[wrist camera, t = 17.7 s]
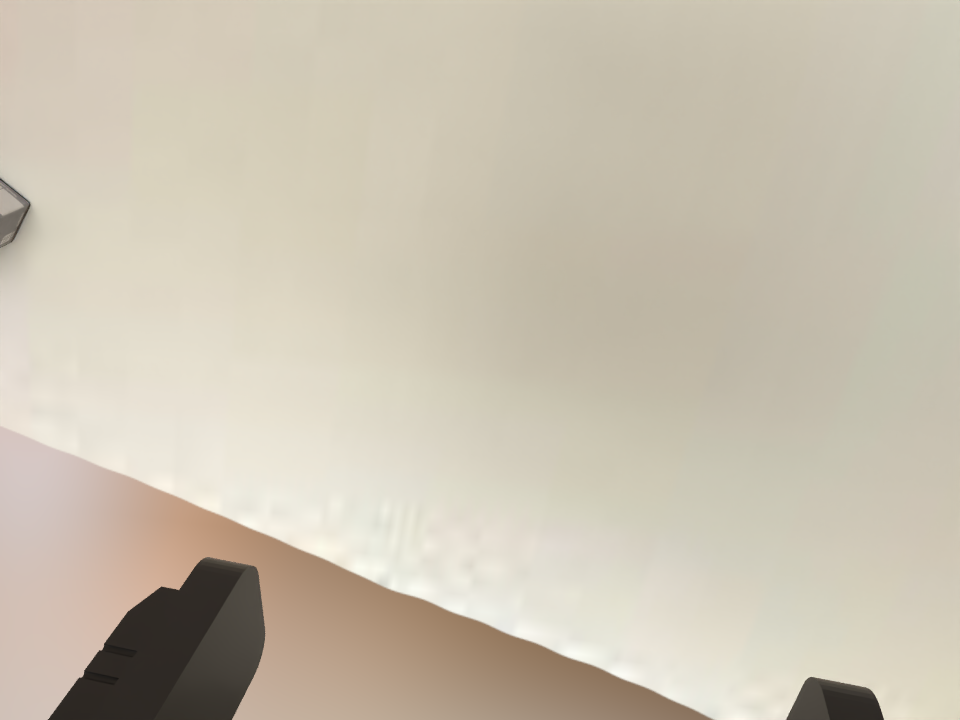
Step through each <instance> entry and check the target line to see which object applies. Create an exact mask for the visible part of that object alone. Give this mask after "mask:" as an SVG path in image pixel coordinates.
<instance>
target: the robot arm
mask: <svg viewBox="0 0 960 720" xmlns="http://www.w3.org/2000/svg"><path fill="white" fill-rule="evenodd" d="M264 641H265V626H264V617H263V609H262V601H261V592H260V584H259V575H258V571H257V569H256V567H254V566H251V565H246V564H241V563H236V562H230V561H225V560H220V559H215V558H210V557H207V558H204V559H203V560H201V561H200V562H199V563H198V564H197V565H196V566H195V568H194V569H193V571H192V572H191V574H190V575H189V577H188V578H187V580H186V581H185V582H184V584H183V585H182V587H181V588H180V590H176V589H171V588H166V587H160V588H159V589H158V590H156V591H155V592H154V593H152V594H151V595H150V596H148V597H147V598H146V599H144V600H143V601H142V602H140V603H139V604H138V605H136V606H135V607H134V608H132V609H131V610H130V611H128V612H127V614H126V615H125V616H124V618H123V619H122V620H121V622H120V623H119V625H118V626H117V627H116V629H115V630H114V631H113V633H112V634H111V635H110V637H109V638H108V639H107V641H106V642H105V643H104V648H103V650H102V651H100V650H99V652H98V653H97V654H96V656H95V657H94V658H93V660H92V661H91V663H90V664H89V665H88V666H87V668H86V669H85V670H84V675H83V677H82V678H79V679H78V680H77V681H76V683H75V684H74V686H73V687H72V688H71V689H70V691H69V692H68V693H67V695H66V696H65V697H64V699H63V700H62V702H61V703H60V704H59V706H58V707H57V708H56V710H55V711H54V713H53V714H52V715H51V716H50V718H49V719H48V720H232V718H233V716H234V714H235V712H236V710H237V708H238V706H239V704H240V702H241V700H242V699H243V697H244V695H245V693H246V690H247V688H248V686H249V685H250V683H251V681H252V679H253V677H254V675H255V672H256V670H257V668H258V665H259V662H260V659H261V656H262V651H263V647H264ZM786 720H884V718H883V715H882V712H881V709H880V706H879V703H878V701H877V698H876V697H875V695H874V693H873V692H872V691H871V690H870V689H868V688H866V687H861V686H855V685H850V684H845V683H840V682H835V681H830V680H825V679H820V678H814V677H810V678H808V679H807V680H806V681H805V683H804V684H803V686H802V688H801V691H800V693H799V695H798V697H797V699H796V701H795V703H794V705H793V707H792V709H791V711H790V713H789V715H788V717H787V719H786Z"/></svg>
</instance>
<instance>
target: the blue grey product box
mask: <svg viewBox="0 0 960 720" xmlns="http://www.w3.org/2000/svg"><path fill="white" fill-rule="evenodd" d="M28 208H29V203H28V202H27V201H26V200H25V199H24V198H22V197H21V196H20V195H19V194H17V193H16V192H15V191H14V190H12V189H11V188H10V187H9V186H7V185H6V184H5V183H3V182H2V181H1V180H0V248H1V247H3V246H5V245H7V244H9V243H10V242H12V240H13V238H14V237H15V235H16V233H17V231H18V229H19V226H20V224H21V223H22V220H23V218H24V216H25V214H26V212H27V210H28Z"/></svg>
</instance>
